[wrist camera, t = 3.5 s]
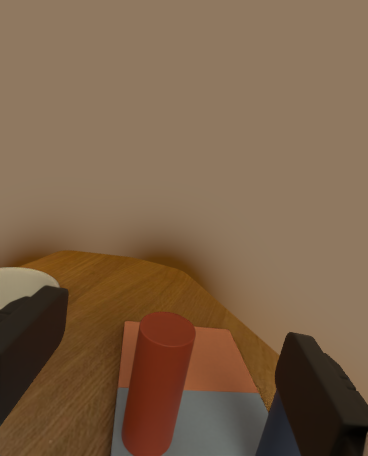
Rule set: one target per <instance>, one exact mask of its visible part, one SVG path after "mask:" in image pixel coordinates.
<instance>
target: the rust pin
mask: <svg viewBox="0 0 368 456" xmlns="http://www.w3.org/2000/svg"><path fill="white" fill-rule="evenodd" d="M195 337H196V330H195V328H194V326H193V324H192V323H191V322H190V321H188V320H187V319H186V318H184V317H182V316H180V315H177V314H174V313H170V312H155V313H151V314H148V315H146V316H145V317H144V318H143V319H142V320H141V322H140V325H139V331H138V337H137V343H136V349H135V355H134V360H133V366H132V372H131V378H130V384H129V390H128V396H127V402H126V408H125V414H124V420H123V426H122V432H121V436H122V441H123V444H124V446H125V448H126V449H127V450H128V451H129V452H130V453H131V454H132V455H133V456H161V455H163V454H164V453H165V452H166V451H167V450H168V448H169V447H170V445H171V442H172V438H173V434H174V429H175V425H176V420H177V416H178V412H179V407H180V403H181V398H182V394H183V390H184V385H185V381H186V376H187V372H188V368H189V363H190V359H191V354H192V350H193V345H194V341H195Z"/></svg>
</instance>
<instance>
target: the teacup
mask: <svg viewBox="0 0 368 456" xmlns="http://www.w3.org/2000/svg"><path fill="white" fill-rule="evenodd" d="M44 285H49V286H54V287H59V284H58V282H57V281H56V280H55V279H54V278H53V277H51V276H50V275H48V274H46V273H44V272H41V271H37V270H34V269H28V268H13V267H8V268H0V310H1V309H2V308H3V307H5V306H6V305H7V304H8V303H10V302H12V301H14V300H17V299H19V298H22V297H24V296H29V297H31V296H32V295H33V294H35V293H36V292H37V291H38V290H39V289H41V288H42V287H43V286H44Z"/></svg>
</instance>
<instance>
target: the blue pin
mask: <svg viewBox="0 0 368 456" xmlns="http://www.w3.org/2000/svg"><path fill="white" fill-rule="evenodd" d="M348 380H350V379H349V377H348ZM255 456H301V454H300V452H299V449H298V446H297V443H296V441H295V438H294V435H293V432H292V430H291V427H290V424H289V421H288V419H287V416H286V413H285V410H284V408H283V405H282V402H281V399H280V397H279V394H278V391H277V390H276V393H275V396H274V399H273V402H272V405H271V408H270V411H269V414H268V417H267V420H266V423H265V427H264V430H263V433H262V436H261V439H260V442H259V445H258V448H257V451H256V454H255Z"/></svg>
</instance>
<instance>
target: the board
mask: <svg viewBox="0 0 368 456" xmlns="http://www.w3.org/2000/svg"><path fill="white" fill-rule="evenodd" d="M139 325H140V322H132V321H125V324H124V333H123V342H122V352H121V361H120V370H119V380H118V389H117V398H116V408H115V417H114V427H113V436H112V445H111V455H110V456H133V455H132V454H131V453H130V452H129V451H128V450H127V449H126V448H125V446H124V444H123V441H122V436H121V432H122V426H123V420H124V414H125V408H126V402H127V396H128V390H129V384H130V378H131V372H132V366H133V360H134V355H135V349H136V343H137V337H138V331H139ZM194 328H195V330H196V337H195V341H194V345H193V350H192V354H191V359H190V363H189V368H188V372H187V376H186V381H185V385H184V390H183V394H182V398H181V403H180V407H179V412H178V416H177V420H176V425H175V429H174V434H173V438H172V442H171V445H170V447H169V448H168V450H167V451H166V452H165V453H164V454H163V455H161V456H255V454H256V451H257V448H258V445H259V442H260V439H261V436H262V433H263V430H264V427H265V423H266V420H267V417H268V414H269V413H268V411H267V409H266V407H265V405H264V403H263V401H262V399H261V397H260V394H259V393H258V390H257V388H256V386H255V384H254V382H253V380H252V378H251V376H250V373H249V371H248V369H247V367H246V365H245V363H244V361H243V359H242V356H241V354H240V352H239V350H238V348H237V346H236V344H235V342H234V340H233V337H232V335H231V333H230V331H229V330H228V329H216V328H204V327H194Z"/></svg>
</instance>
